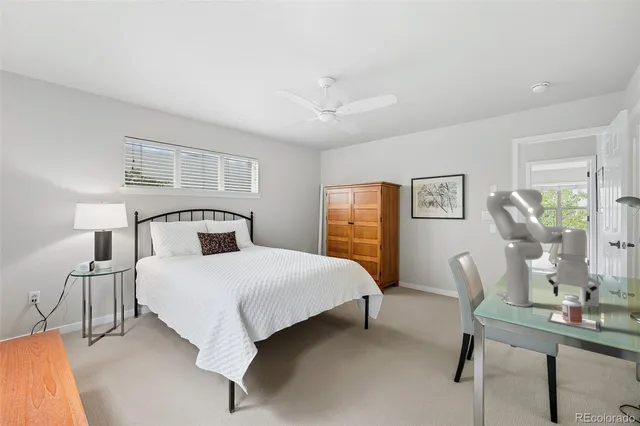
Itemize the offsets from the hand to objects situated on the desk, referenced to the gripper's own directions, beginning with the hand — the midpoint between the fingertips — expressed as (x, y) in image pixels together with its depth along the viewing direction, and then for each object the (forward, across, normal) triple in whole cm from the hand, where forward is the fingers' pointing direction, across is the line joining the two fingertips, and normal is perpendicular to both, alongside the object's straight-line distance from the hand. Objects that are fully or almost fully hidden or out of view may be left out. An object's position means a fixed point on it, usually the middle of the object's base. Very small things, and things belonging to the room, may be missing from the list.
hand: (571, 298), depth 122 cm
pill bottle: (+10, +1, -1) cm, 10 cm away
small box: (+12, +6, +39) cm, 41 cm away
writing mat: (+11, +1, +2) cm, 11 cm away
